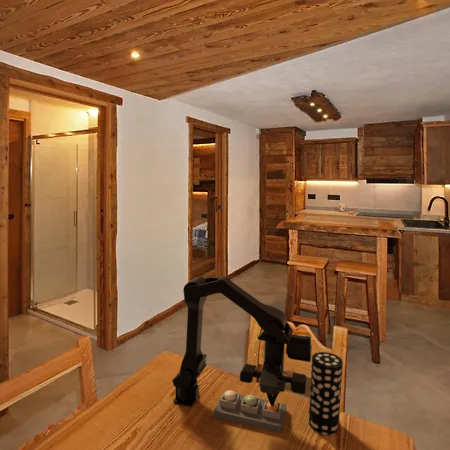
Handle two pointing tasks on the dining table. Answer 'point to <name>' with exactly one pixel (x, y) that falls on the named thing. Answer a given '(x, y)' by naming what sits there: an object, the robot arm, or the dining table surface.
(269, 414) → the rack
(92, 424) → the dining table surface
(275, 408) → the orange button
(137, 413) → the dining table surface
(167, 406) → the dining table surface
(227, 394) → the cream button
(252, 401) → the sage button
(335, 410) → the spotted tube
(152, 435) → the dining table surface
